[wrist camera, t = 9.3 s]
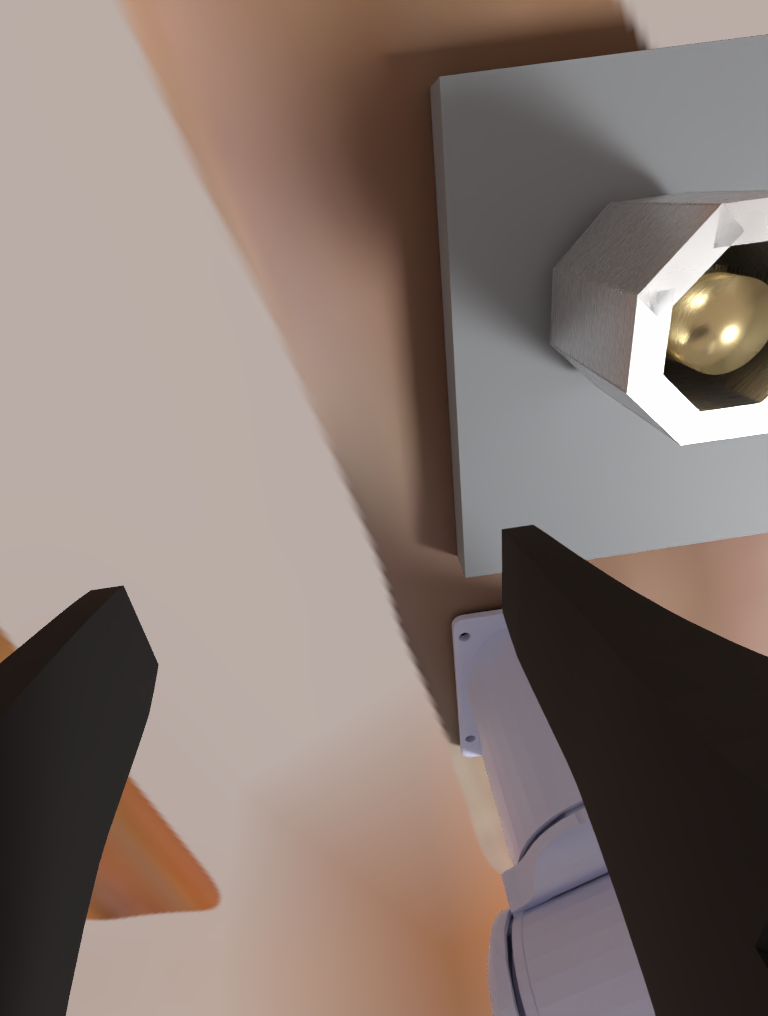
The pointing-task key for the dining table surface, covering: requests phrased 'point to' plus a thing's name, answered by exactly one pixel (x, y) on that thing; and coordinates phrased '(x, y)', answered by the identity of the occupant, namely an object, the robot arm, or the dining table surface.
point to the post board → (528, 294)
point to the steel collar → (662, 308)
